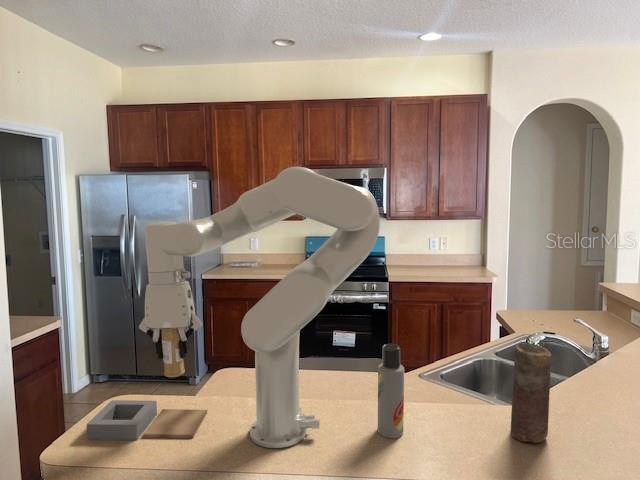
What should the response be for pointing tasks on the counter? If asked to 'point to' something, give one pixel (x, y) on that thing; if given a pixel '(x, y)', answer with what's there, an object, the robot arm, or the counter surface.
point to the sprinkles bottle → (171, 351)
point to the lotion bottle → (390, 393)
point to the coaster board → (175, 424)
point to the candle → (530, 393)
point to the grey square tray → (113, 429)
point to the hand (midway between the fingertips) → (173, 355)
